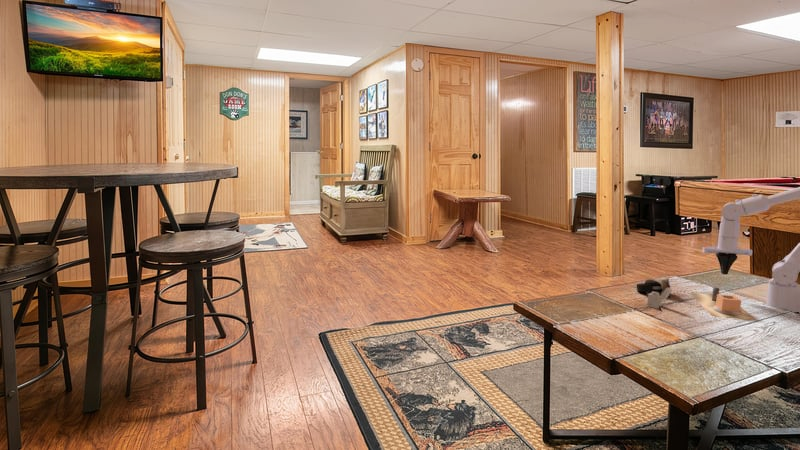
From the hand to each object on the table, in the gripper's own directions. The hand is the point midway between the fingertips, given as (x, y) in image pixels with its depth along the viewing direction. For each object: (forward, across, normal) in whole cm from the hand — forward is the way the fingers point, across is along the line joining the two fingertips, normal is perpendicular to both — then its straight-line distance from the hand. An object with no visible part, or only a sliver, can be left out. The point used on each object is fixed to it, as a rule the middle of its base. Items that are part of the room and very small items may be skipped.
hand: (724, 273), depth 160 cm
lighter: (+10, +24, +17) cm, 31 cm away
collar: (+8, +4, +17) cm, 19 cm away
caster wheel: (+10, +22, +1) cm, 25 cm away
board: (+9, +4, +11) cm, 15 cm away
